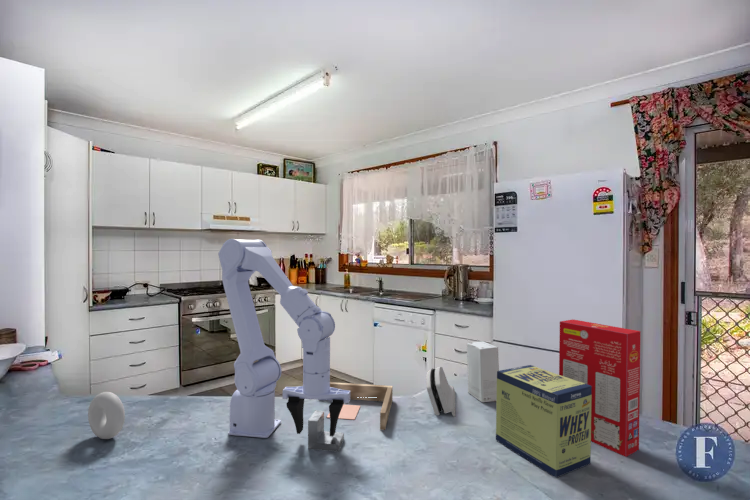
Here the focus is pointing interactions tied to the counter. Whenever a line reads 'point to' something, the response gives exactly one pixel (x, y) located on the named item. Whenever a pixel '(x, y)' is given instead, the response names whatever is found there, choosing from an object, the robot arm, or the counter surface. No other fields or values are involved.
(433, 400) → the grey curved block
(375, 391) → the wooden corner frame
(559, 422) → the protein box
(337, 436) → the bracket
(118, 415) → the donut
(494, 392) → the skincare box
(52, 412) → the counter surface
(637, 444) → the food packaging
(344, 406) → the flat panel
